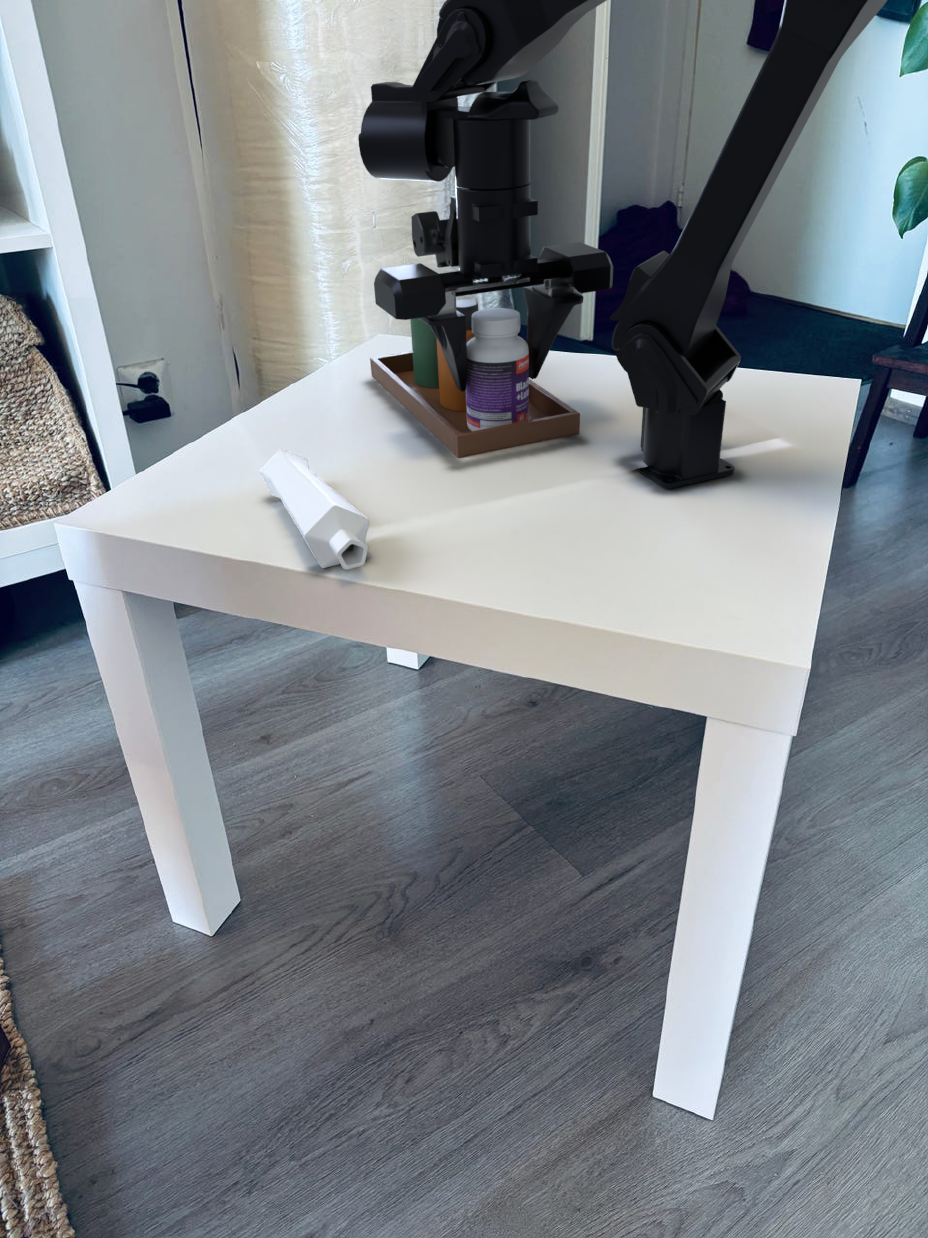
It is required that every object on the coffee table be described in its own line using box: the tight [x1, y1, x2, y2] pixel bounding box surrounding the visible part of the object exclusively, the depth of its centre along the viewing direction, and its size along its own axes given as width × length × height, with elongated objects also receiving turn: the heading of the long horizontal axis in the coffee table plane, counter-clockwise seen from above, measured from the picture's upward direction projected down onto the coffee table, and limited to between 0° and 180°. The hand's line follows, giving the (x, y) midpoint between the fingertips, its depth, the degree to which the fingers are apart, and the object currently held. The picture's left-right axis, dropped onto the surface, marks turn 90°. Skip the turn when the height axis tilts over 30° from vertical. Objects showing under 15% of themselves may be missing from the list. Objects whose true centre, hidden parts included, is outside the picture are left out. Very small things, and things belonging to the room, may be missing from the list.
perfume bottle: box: [259, 448, 370, 571], centre depth 68 cm, size 5×4×15 cm
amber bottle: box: [437, 299, 479, 411], centre depth 87 cm, size 5×5×9 cm
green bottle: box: [409, 318, 439, 388], centre depth 92 cm, size 5×5×9 cm
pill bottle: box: [466, 307, 530, 431], centre depth 81 cm, size 5×5×10 cm
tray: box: [369, 350, 581, 459], centre depth 89 cm, size 23×11×3 cm, turn 22°
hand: (497, 383), depth 82 cm, fingers open, 6 cm apart
